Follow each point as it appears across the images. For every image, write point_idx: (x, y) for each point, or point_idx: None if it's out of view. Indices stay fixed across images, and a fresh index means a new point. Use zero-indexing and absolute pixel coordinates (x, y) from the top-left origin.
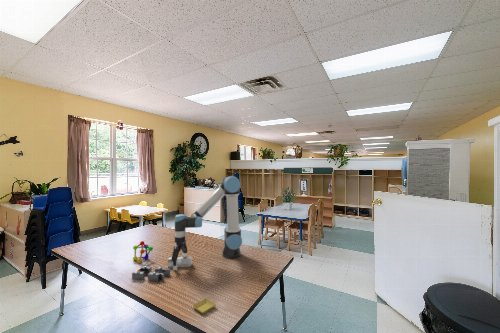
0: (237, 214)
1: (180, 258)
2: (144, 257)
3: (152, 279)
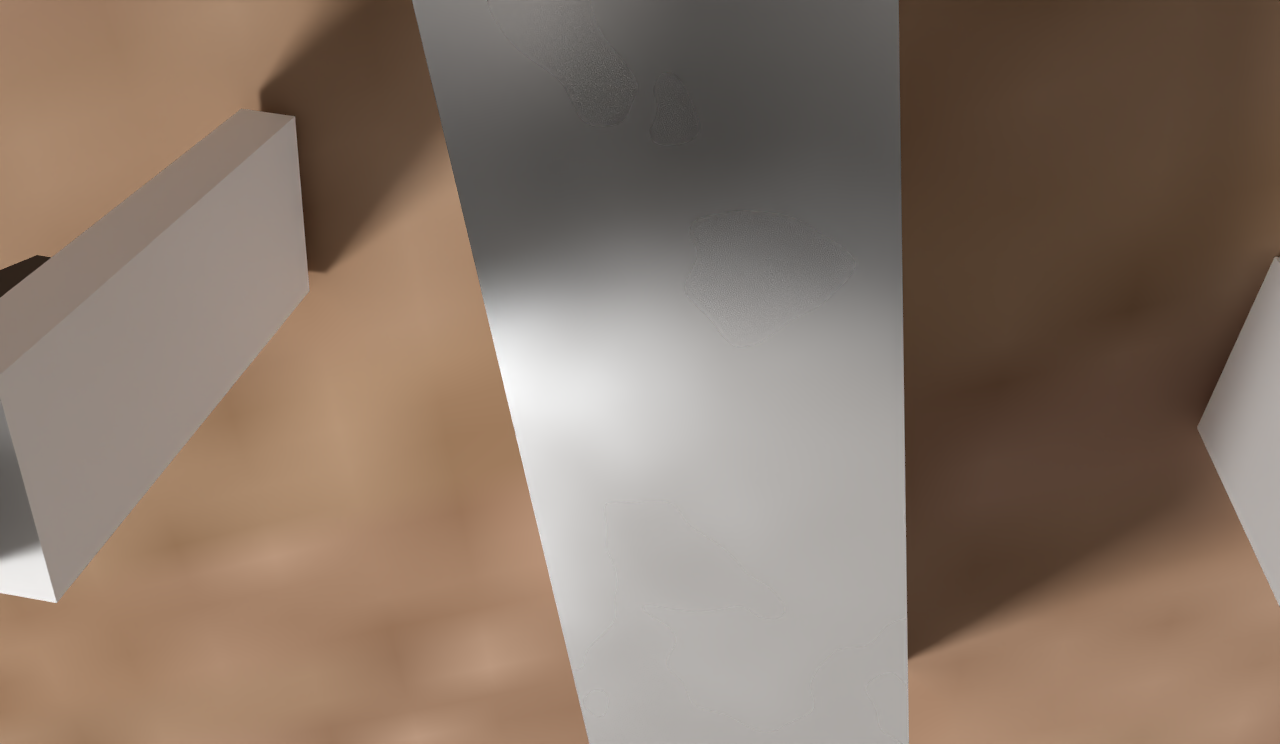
0: None
1: (824, 488)
2: None
3: None
